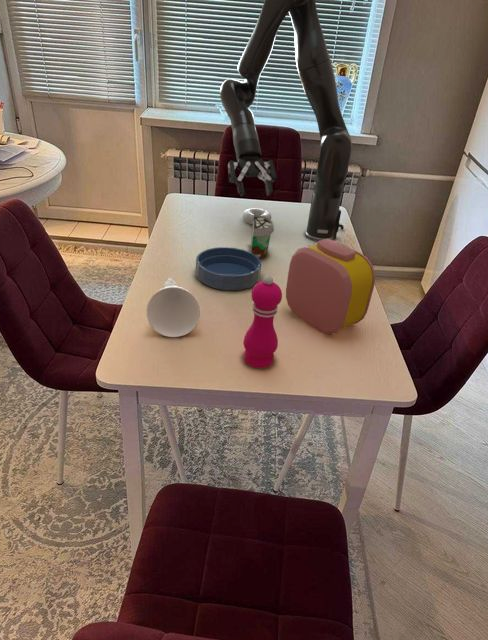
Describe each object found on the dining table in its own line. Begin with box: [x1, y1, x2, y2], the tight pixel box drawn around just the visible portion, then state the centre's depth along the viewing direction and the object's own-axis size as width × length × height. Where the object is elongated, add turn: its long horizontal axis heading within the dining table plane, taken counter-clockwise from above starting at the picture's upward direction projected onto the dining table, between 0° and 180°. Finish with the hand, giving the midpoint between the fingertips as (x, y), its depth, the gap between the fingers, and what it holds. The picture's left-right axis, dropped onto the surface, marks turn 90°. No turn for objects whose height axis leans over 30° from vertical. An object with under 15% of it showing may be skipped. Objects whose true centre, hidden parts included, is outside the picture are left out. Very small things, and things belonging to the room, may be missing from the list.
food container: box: [250, 214, 275, 260], centre depth 146 cm, size 12×6×10 cm, turn 179°
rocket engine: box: [146, 277, 201, 338], centre depth 115 cm, size 12×12×18 cm
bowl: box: [195, 246, 263, 291], centre depth 134 cm, size 18×18×4 cm
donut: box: [242, 207, 272, 226], centre depth 169 cm, size 10×4×10 cm
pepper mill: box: [243, 275, 283, 369], centre depth 100 cm, size 7×7×20 cm
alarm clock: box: [285, 239, 376, 335], centre depth 116 cm, size 18×11×19 cm, turn 41°
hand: (256, 194), depth 146 cm, fingers open, 8 cm apart
